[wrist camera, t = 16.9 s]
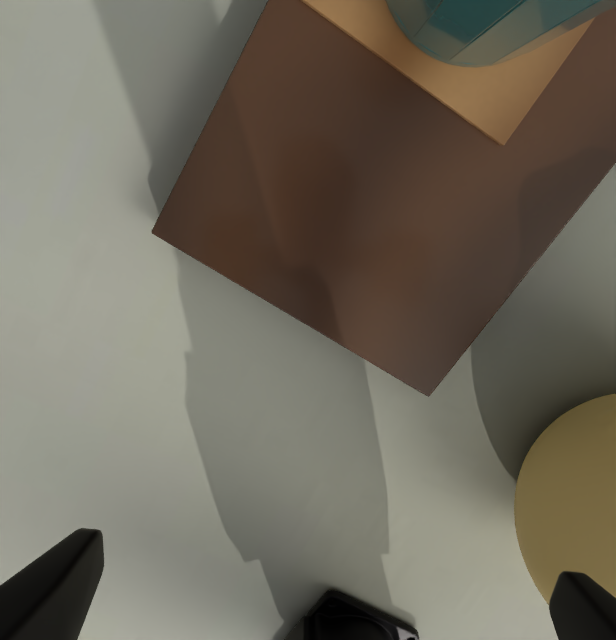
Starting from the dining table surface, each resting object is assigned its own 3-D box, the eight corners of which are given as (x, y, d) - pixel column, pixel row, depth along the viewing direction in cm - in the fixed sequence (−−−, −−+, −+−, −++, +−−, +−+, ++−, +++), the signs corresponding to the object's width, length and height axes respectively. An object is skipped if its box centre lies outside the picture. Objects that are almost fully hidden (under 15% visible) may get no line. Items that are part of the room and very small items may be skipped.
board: (750, -38, 16) (801, -62, 15) (421, 382, 22) (430, 400, 20) (442, -321, 14) (460, -388, 12) (161, 228, 20) (147, 233, 18)
